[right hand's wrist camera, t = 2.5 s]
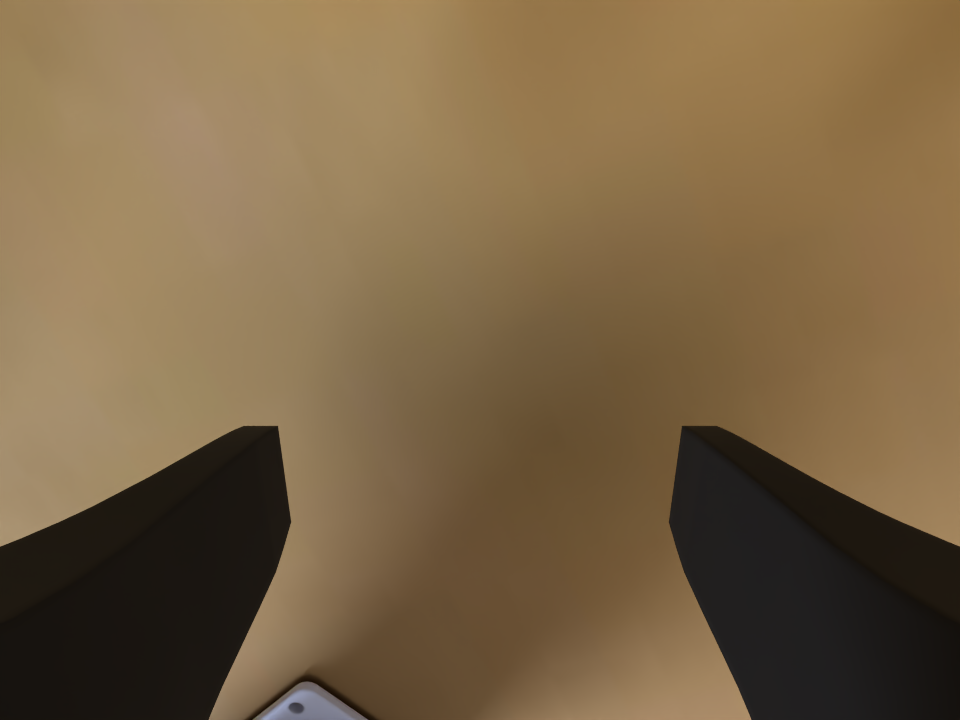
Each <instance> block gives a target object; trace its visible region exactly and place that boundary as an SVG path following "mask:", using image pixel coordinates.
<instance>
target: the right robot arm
mask: <svg viewBox="0 0 960 720" xmlns="http://www.w3.org/2000/svg"><path fill="white" fill-rule="evenodd" d="M290 524H291V518H290V511H289V504H288V496H287V489H286V482H285V474H284V467H283V460H282V453H281V445H280V438H279V431H278V426H243V427H240V428H238V429H235V430H233V431H231V432H229V433H227V434H225V435H223V436H221V437H220V438H218V439H216V440H214V441H212V442H210V443H209V444H207V445H205V446H203V447H202V448H200V449H198V450H196V451H195V452H193V453H191V454H189V455H187V456H186V457H184V458H182V459H180V460H179V461H177V462H175V463H173V464H172V465H170V466H168V467H166V468H164V469H163V470H161V471H159V472H157V473H156V474H154V475H152V476H150V477H148V478H146V479H145V480H143V481H141V482H139V483H137V484H135V485H133V486H131V487H129V488H127V489H125V490H123V491H122V492H120V493H118V494H116V495H114V496H112V497H110V498H108V499H106V500H104V501H102V502H100V503H99V504H97V505H95V506H93V507H91V508H89V509H86V510H84V511H82V512H80V513H78V514H76V515H74V516H72V517H69V518H67V519H65V520H63V521H61V522H59V523H56V524H54V525H51V526H49V527H47V528H44V529H42V530H40V531H37V532H35V533H33V534H30V535H28V536H26V537H23V538H21V539H19V540H16V541H14V542H11V543H9V544H6V545H4V546H1V547H0V720H209V717H210V714H211V712H212V710H213V707H214V705H215V703H216V700H217V698H218V695H219V693H220V691H221V688H222V686H223V684H224V682H225V680H226V678H227V675H228V673H229V671H230V669H231V667H232V665H233V663H234V661H235V658H236V656H237V654H238V652H239V650H240V648H241V646H242V644H243V642H244V639H245V637H246V635H247V633H248V631H249V629H250V627H251V625H252V622H253V620H254V618H255V616H256V614H257V612H258V610H259V608H260V605H261V603H262V601H263V599H264V597H265V595H266V592H267V590H268V588H269V586H270V584H271V581H272V579H273V577H274V575H275V573H276V570H277V567H278V564H279V561H280V558H281V554H282V551H283V548H284V545H285V541H286V538H287V534H288V531H289V527H290ZM669 524H670V527H671V531H672V534H673V538H674V541H675V545H676V548H677V551H678V554H679V558H680V561H681V564H682V567H683V570H684V573H685V575H686V577H687V579H688V581H689V584H690V586H691V588H692V590H693V592H694V595H695V597H696V599H697V601H698V603H699V605H700V608H701V610H702V612H703V614H704V616H705V618H706V620H707V622H708V625H709V627H710V629H711V631H712V633H713V635H714V637H715V639H716V642H717V644H718V646H719V648H720V650H721V652H722V654H723V656H724V658H725V661H726V663H727V665H728V667H729V669H730V671H731V673H732V675H733V678H734V680H735V682H736V684H737V686H738V688H739V691H740V693H741V695H742V698H743V700H744V703H745V705H746V707H747V710H748V712H749V714H750V717H751V720H960V546H957V545H954V544H952V543H949V542H947V541H945V540H942V539H940V538H938V537H935V536H933V535H930V534H928V533H926V532H923V531H921V530H919V529H916V528H914V527H912V526H909V525H907V524H904V523H902V522H900V521H898V520H896V519H893V518H891V517H889V516H887V515H885V514H882V513H880V512H878V511H876V510H874V509H872V508H870V507H868V506H866V505H864V504H862V503H860V502H858V501H856V500H854V499H852V498H850V497H848V496H846V495H844V494H842V493H840V492H838V491H836V490H834V489H833V488H831V487H829V486H827V485H825V484H823V483H821V482H819V481H818V480H816V479H814V478H812V477H810V476H808V475H807V474H805V473H803V472H801V471H799V470H798V469H796V468H794V467H792V466H790V465H789V464H787V463H785V462H783V461H782V460H780V459H778V458H776V457H775V456H773V455H771V454H769V453H768V452H766V451H764V450H762V449H761V448H759V447H757V446H755V445H754V444H752V443H750V442H748V441H746V440H744V439H743V438H741V437H739V436H737V435H735V434H733V433H731V432H729V431H727V430H725V429H722V428H720V427H718V426H682V431H681V438H680V445H679V453H678V460H677V467H676V474H675V482H674V489H673V496H672V504H671V511H670V518H669ZM253 720H368V719H366V718H365V717H363V716H362V715H360V714H359V713H358V712H356V711H355V710H353V709H352V708H350V707H349V706H347V705H346V704H344V703H343V702H342V701H340V700H339V699H337V698H336V697H334V696H333V695H331V694H330V693H328V692H327V691H326V690H324V689H323V688H321V687H320V686H318V685H317V684H315V683H313V682H308V681H307V682H301V683H299V684H297V685H296V686H295V687H293V688H292V689H291V690H290V691H288V692H287V693H286V694H285V695H283V696H282V697H281V698H279V699H278V700H277V701H276V702H274V703H273V704H272V705H271V706H269V707H268V708H267V709H266V710H264V711H263V712H262V713H261V714H259V715H258V716H257V717H255V718H254V719H253Z"/></svg>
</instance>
